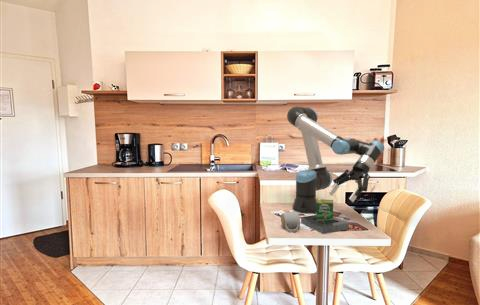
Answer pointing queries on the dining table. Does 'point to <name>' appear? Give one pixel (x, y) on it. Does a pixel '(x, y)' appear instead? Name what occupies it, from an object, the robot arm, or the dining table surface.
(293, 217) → the ceramic mug
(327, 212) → the coffee box
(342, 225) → the housing
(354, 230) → the dining table surface
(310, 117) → the robot arm
